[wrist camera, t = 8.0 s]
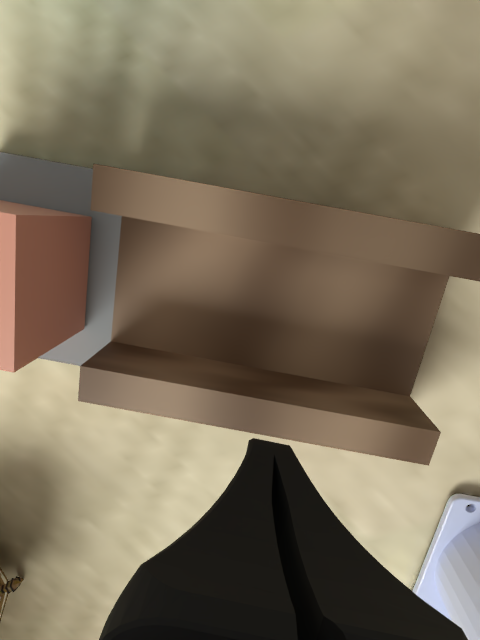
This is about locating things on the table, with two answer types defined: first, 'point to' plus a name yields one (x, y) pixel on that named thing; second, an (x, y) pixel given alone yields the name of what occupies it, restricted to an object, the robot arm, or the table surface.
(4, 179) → the shelf
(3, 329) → the block
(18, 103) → the table surface
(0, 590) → the game die
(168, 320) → the chute
